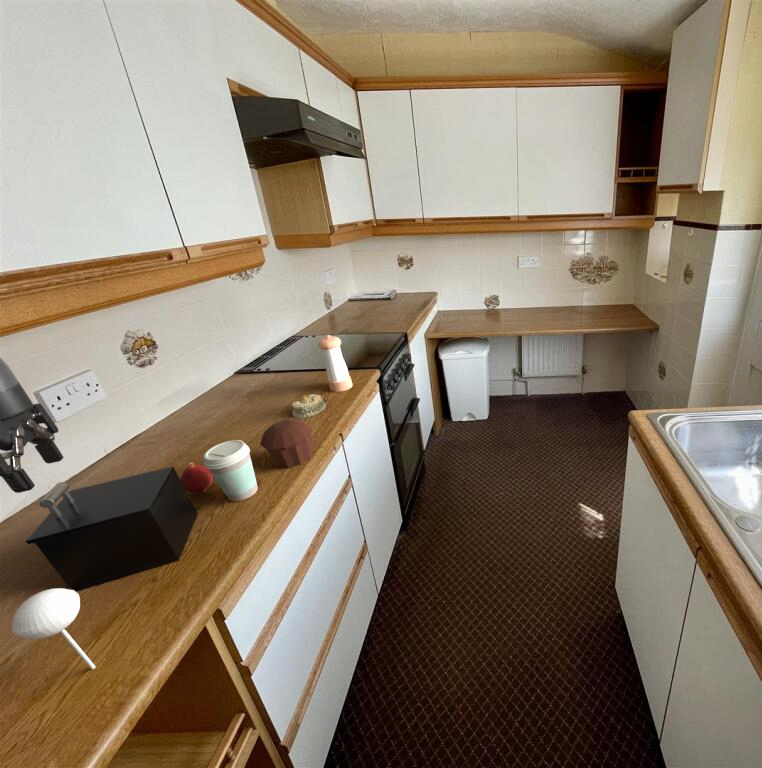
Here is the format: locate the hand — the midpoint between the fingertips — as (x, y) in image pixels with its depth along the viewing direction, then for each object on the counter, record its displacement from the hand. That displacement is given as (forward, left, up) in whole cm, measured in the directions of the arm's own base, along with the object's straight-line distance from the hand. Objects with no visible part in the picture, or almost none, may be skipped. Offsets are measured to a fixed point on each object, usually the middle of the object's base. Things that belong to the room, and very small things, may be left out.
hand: (41, 475), depth 68 cm
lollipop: (+8, -25, -20) cm, 33 cm away
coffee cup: (+22, +10, -20) cm, 32 cm away
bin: (+6, 0, -20) cm, 21 cm away
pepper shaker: (+45, +60, -20) cm, 78 cm away
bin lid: (+6, 0, -8) cm, 10 cm away
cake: (+35, +47, -20) cm, 62 cm away
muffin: (+32, +20, -20) cm, 43 cm away
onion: (+13, +15, -20) cm, 29 cm away
